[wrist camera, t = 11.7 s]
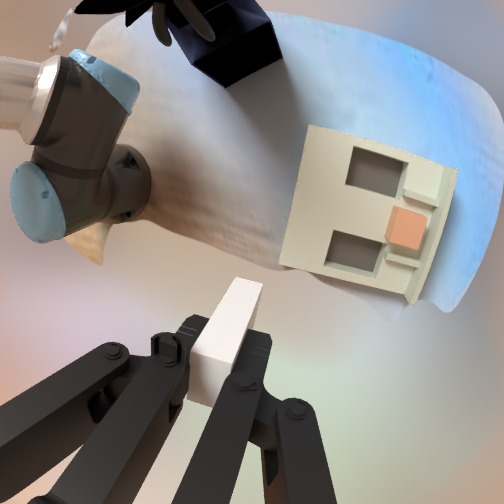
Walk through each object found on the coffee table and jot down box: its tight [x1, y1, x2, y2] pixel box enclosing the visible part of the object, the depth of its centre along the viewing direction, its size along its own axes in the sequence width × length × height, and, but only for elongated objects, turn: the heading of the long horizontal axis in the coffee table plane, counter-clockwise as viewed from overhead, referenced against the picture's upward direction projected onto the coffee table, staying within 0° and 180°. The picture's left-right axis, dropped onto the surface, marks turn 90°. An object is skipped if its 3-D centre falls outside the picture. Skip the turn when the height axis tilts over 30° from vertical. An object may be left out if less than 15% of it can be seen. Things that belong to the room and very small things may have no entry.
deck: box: [278, 124, 459, 305], centre depth 41 cm, size 23×22×6 cm
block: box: [385, 205, 428, 250], centre depth 39 cm, size 5×5×3 cm
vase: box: [74, 0, 283, 88], centre depth 23 cm, size 14×12×35 cm
